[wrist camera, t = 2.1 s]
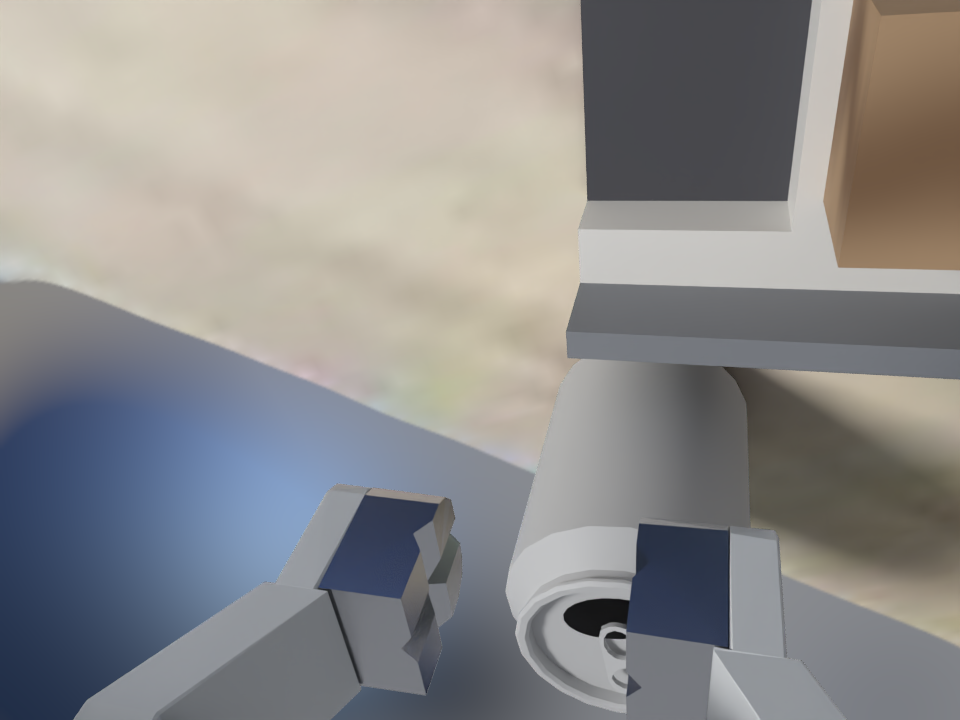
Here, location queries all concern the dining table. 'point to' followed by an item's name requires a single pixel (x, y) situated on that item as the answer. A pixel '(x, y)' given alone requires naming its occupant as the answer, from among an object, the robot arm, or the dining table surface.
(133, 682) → the robot arm
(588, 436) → the can
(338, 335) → the dining table surface
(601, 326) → the box
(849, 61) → the walnut block
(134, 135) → the dining table surface
